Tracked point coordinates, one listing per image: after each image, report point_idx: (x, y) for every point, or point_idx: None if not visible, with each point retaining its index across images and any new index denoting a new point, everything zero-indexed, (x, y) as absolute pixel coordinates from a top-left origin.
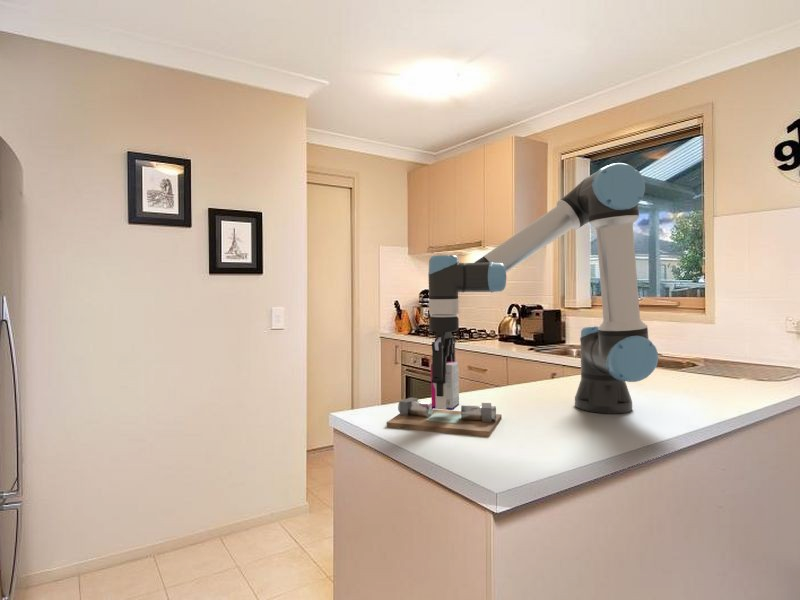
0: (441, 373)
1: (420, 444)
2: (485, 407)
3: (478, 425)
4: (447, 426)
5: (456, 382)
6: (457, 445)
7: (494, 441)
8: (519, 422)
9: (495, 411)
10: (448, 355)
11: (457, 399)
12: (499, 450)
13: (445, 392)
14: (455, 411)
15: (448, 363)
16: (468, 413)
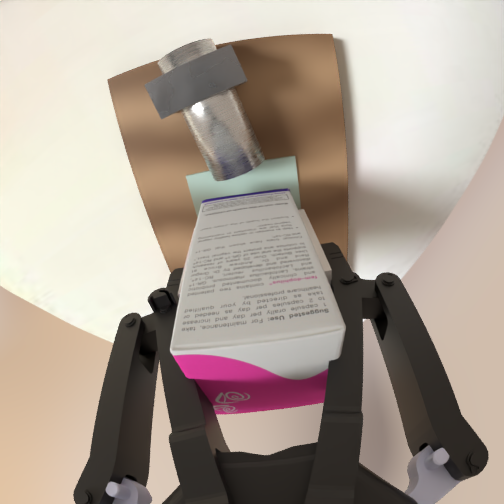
0: (413, 304)
1: (435, 186)
2: (234, 69)
3: (281, 82)
4: (333, 169)
5: (235, 249)
6: (423, 104)
7: (359, 19)
8: (123, 20)
9: (207, 40)
10: (324, 416)
11: (224, 207)
12: (413, 7)
13: (319, 244)
14: (157, 223)
15: (285, 366)
16: (253, 133)
